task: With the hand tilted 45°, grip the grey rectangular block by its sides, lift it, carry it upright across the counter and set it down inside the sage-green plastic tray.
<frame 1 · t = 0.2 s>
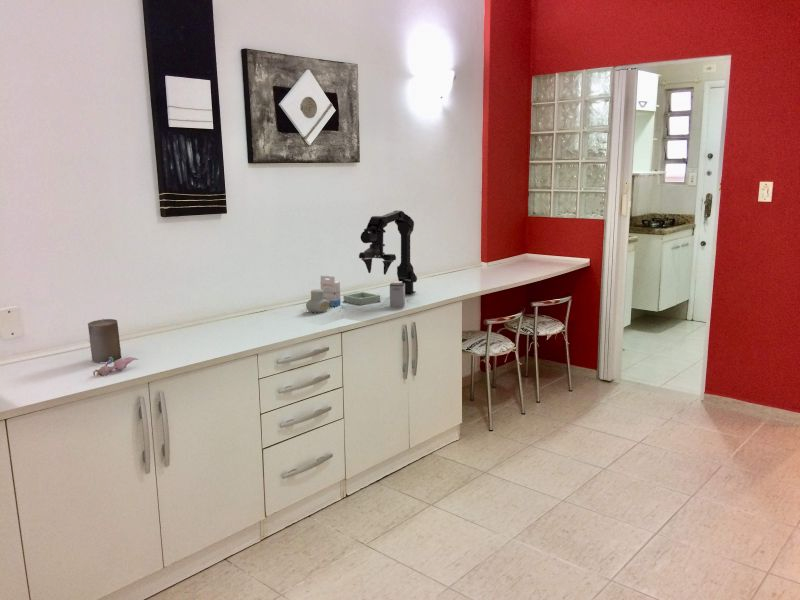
hand: (377, 273, 328), 14 cm above the countertop, tool pointing down, fingers open, 9 cm apart
tray: (361, 301, 333), on the countertop
pillar candle: (106, 359, 237), on the countertop
grey rectangular block: (397, 306, 321), on the countertop
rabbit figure: (117, 372, 223), on the countertop
ink box: (331, 305, 325), on the countertop
beige rounded blocky piece: (317, 311, 311), on the countertop
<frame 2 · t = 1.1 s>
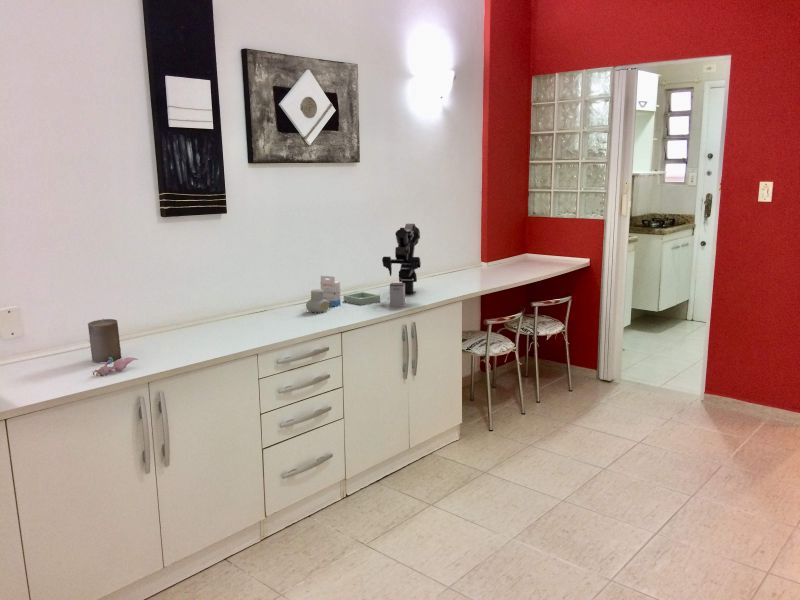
hand: (399, 275, 326), 14 cm above the countertop, tool tilted 45°, fingers open, 9 cm apart
nothing on the countertop moved.
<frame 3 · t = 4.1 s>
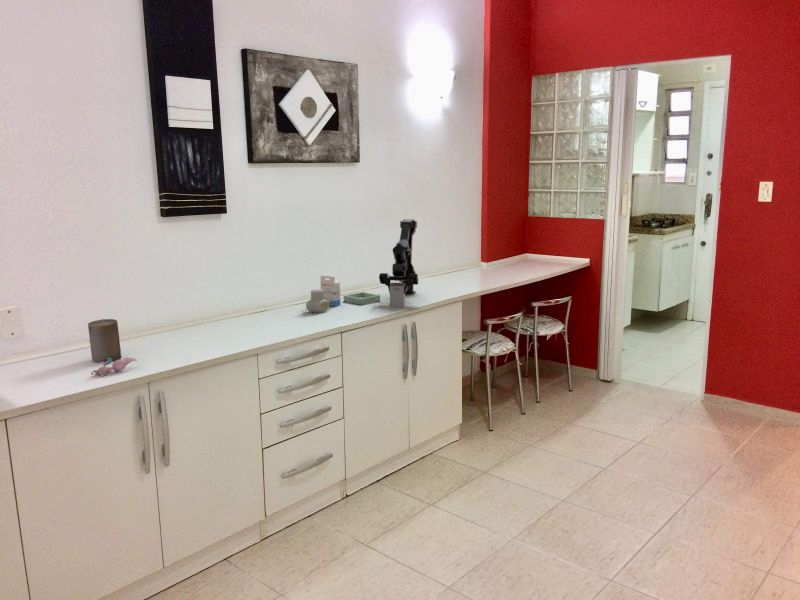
hand: (396, 293, 319), 7 cm above the countertop, tool tilted 45°, fingers closed on grey rectangular block, 7 cm apart
grey rectangular block: (397, 306, 321), on the countertop, touching gripper
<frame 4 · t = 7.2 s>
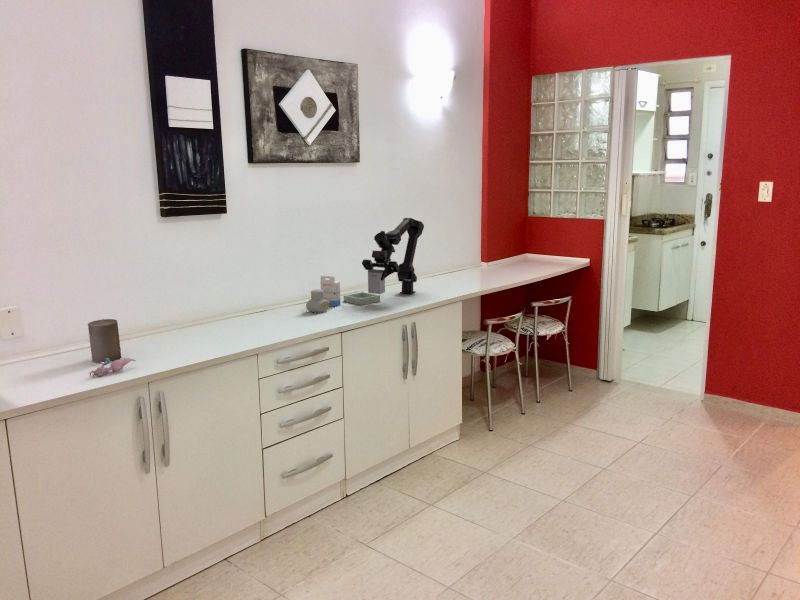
hand: (375, 279, 322), 12 cm above the countertop, tool tilted 45°, fingers closed on grey rectangular block, 7 cm apart
grey rectangular block: (376, 292, 325), point 6 cm above the countertop, touching gripper
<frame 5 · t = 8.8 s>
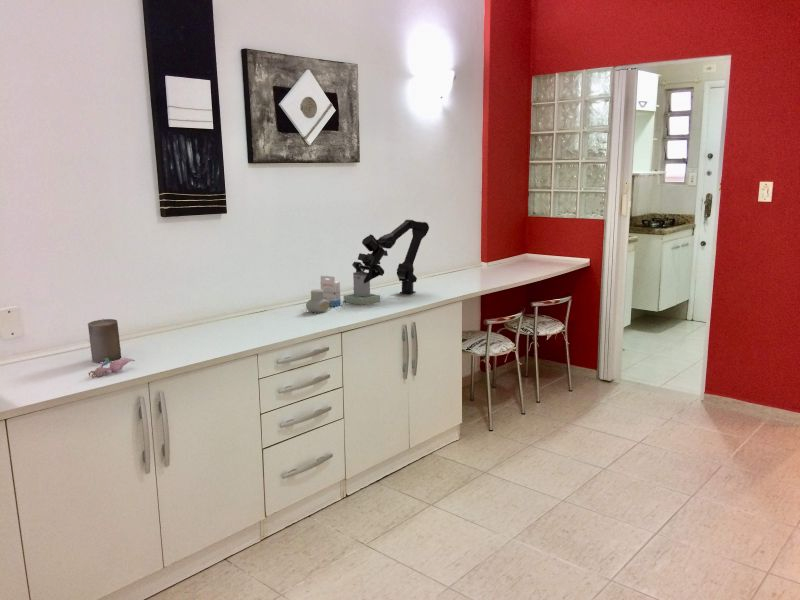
hand: (359, 281, 330), 10 cm above the countertop, tool tilted 45°, fingers closed on grey rectangular block, 7 cm apart
grey rectangular block: (361, 294, 332), point 3 cm above the countertop, touching gripper
when the fingers open (9 cm above the countertop, at t = 10.3 s): grey rectangular block drops 1 cm, resting on tray.
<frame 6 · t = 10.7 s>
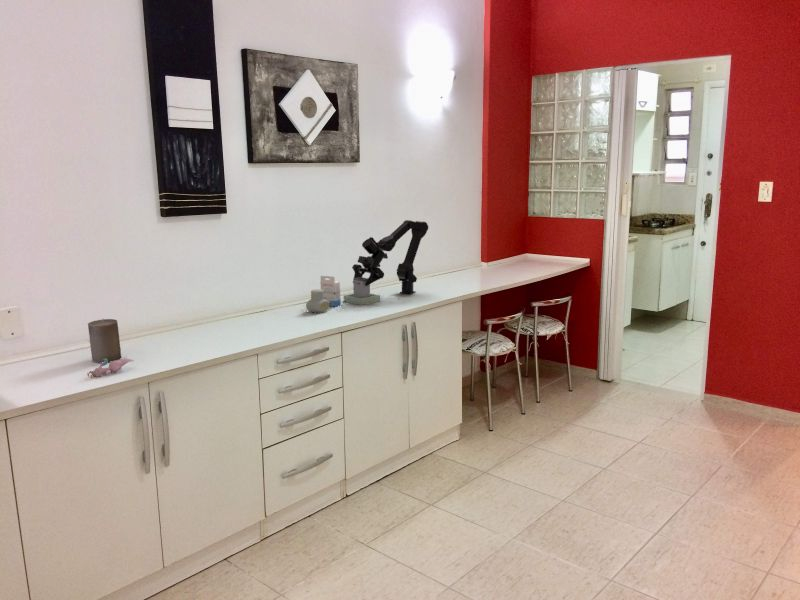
hand: (359, 284, 330), 9 cm above the countertop, tool tilted 45°, fingers open, 9 cm apart
grey rectangular block: (361, 300, 333), point 1 cm above the countertop, touching tray
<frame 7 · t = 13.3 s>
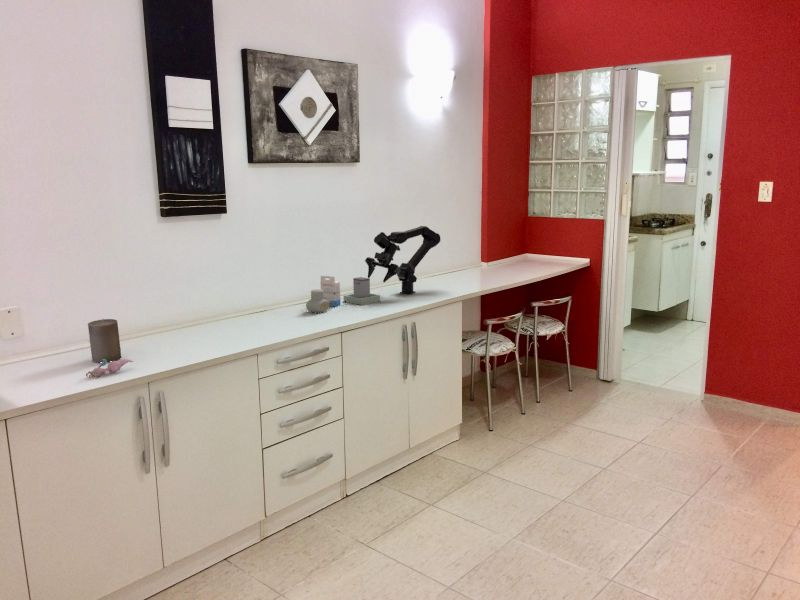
hand: (375, 279, 336), 10 cm above the countertop, tool tilted 40°, fingers open, 9 cm apart
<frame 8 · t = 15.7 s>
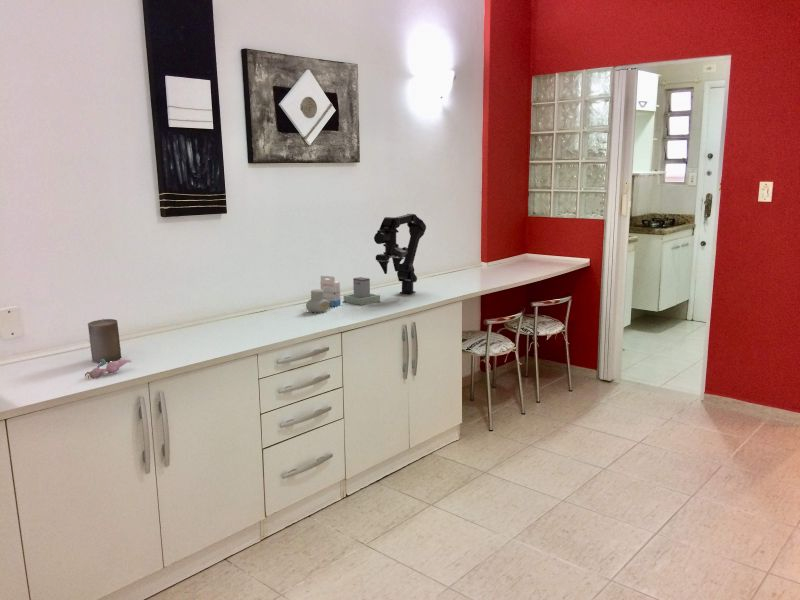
hand: (391, 272, 339), 13 cm above the countertop, tool pointing down, fingers open, 9 cm apart
at the end: grey rectangular block inside the target area on the tray (0.0 cm from its centre), point 0.6 cm above the tray's base; grey rectangular block tilted 0°; the gripper is holding nothing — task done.
